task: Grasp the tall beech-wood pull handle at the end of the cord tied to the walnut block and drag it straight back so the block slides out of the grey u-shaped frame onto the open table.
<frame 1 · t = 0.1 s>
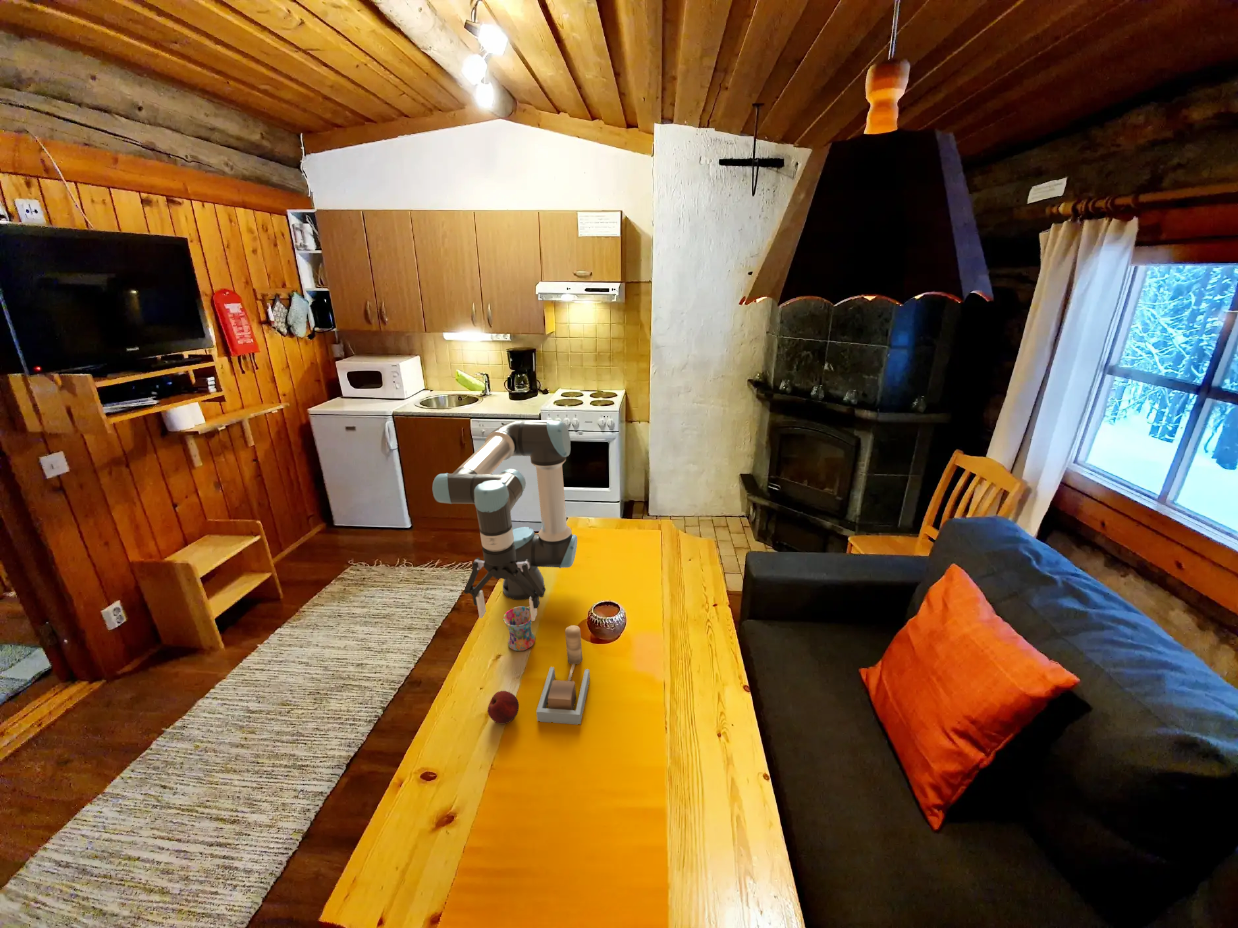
hand: (508, 616, 124), 28 cm above the table, fingers open, 13 cm apart
grey u-shaped frame: (565, 697, 134), on the table
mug: (524, 640, 155), on the table
tethered block: (563, 706, 131), on the table
apple: (505, 717, 128), on the table
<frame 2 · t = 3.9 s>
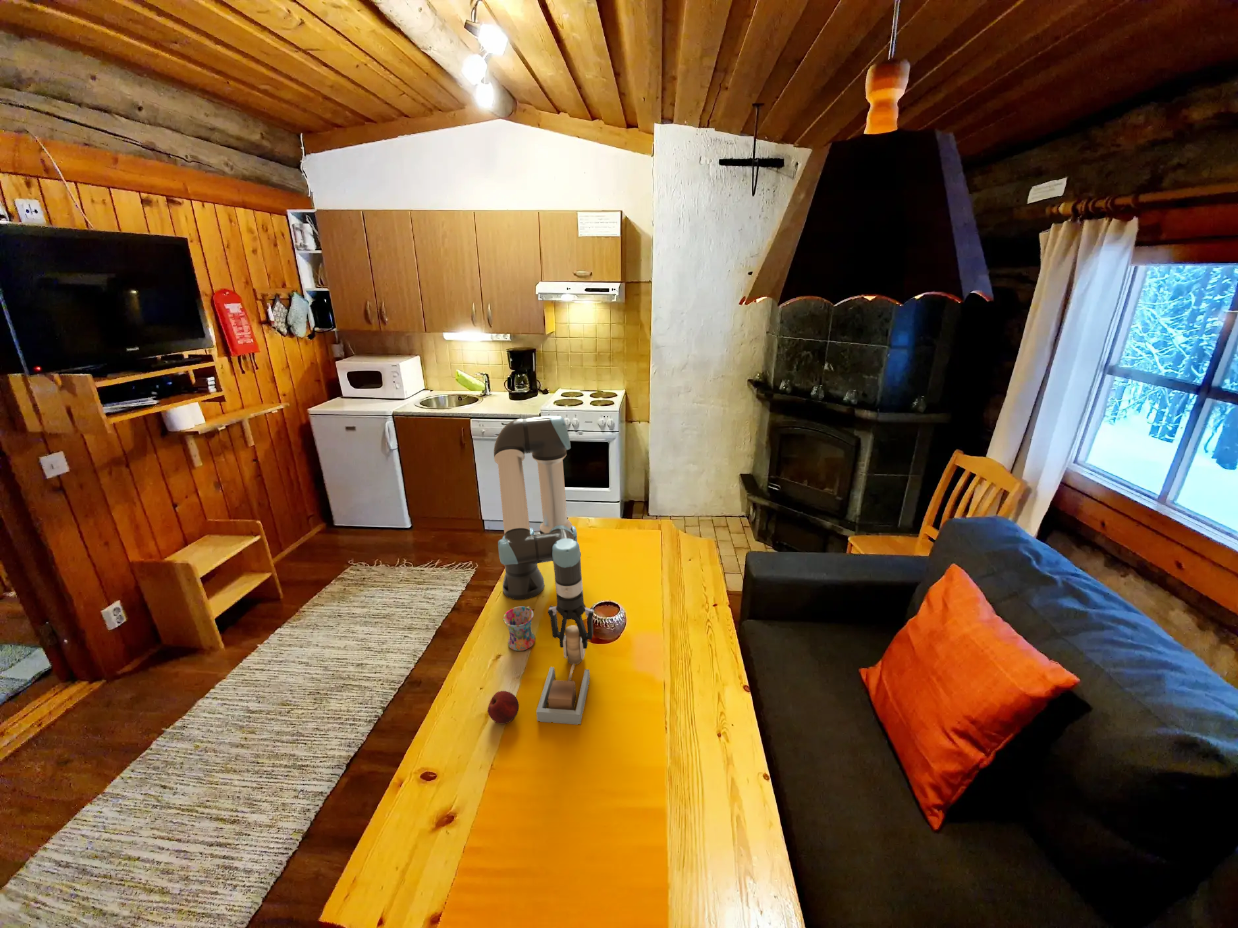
hand: (574, 654, 146), 2 cm above the table, fingers closed on tethered block, 4 cm apart
tethered block: (563, 706, 131), on the table, touching gripper
everything else where it was.
when the fingers open (2 cm above the table, at t = 8.3 s): tethered block drops 6 cm, on the table.
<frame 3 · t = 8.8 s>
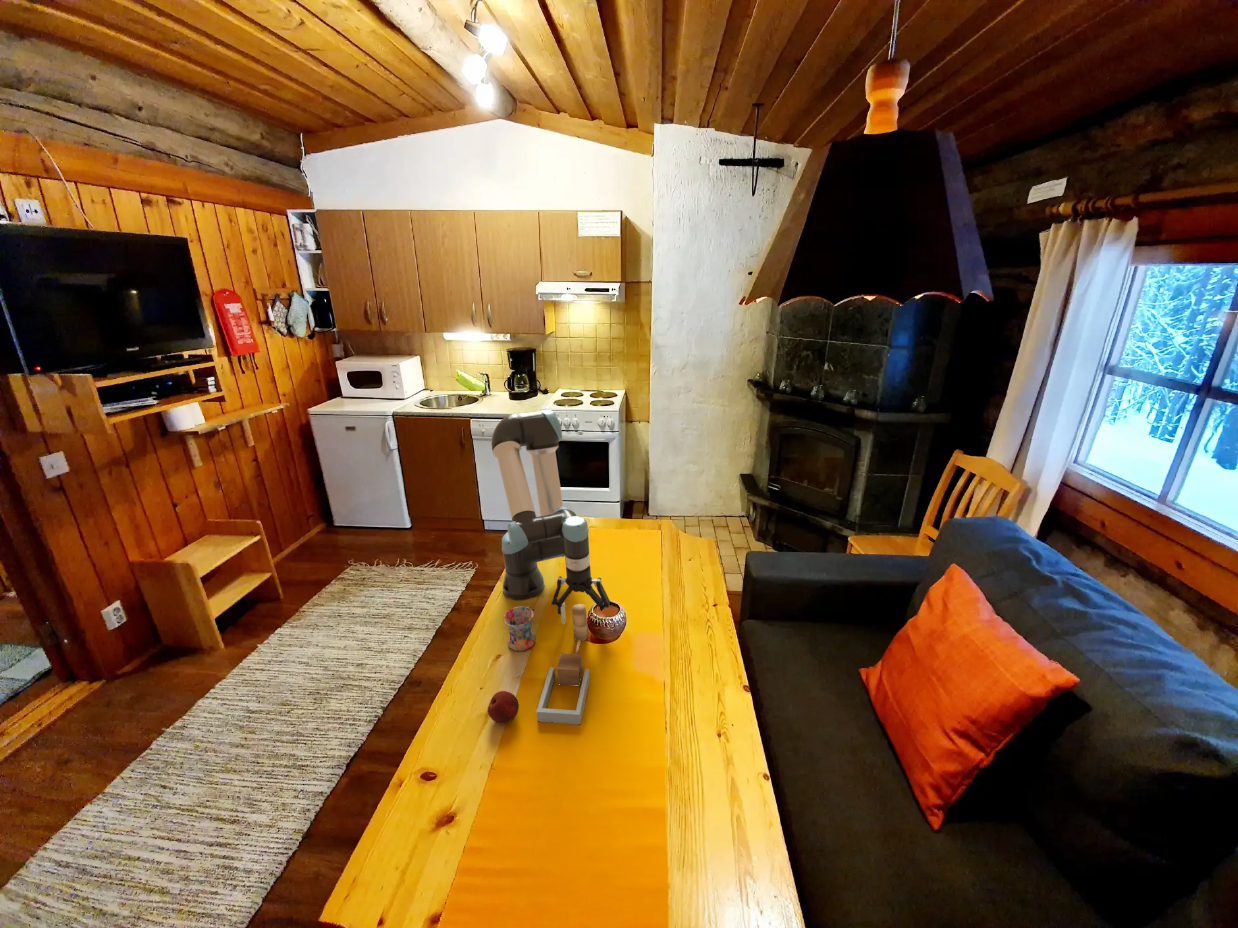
hand: (582, 622, 157), 3 cm above the table, fingers open, 11 cm apart
tethered block: (570, 677, 140), on the table
everything else where it was.
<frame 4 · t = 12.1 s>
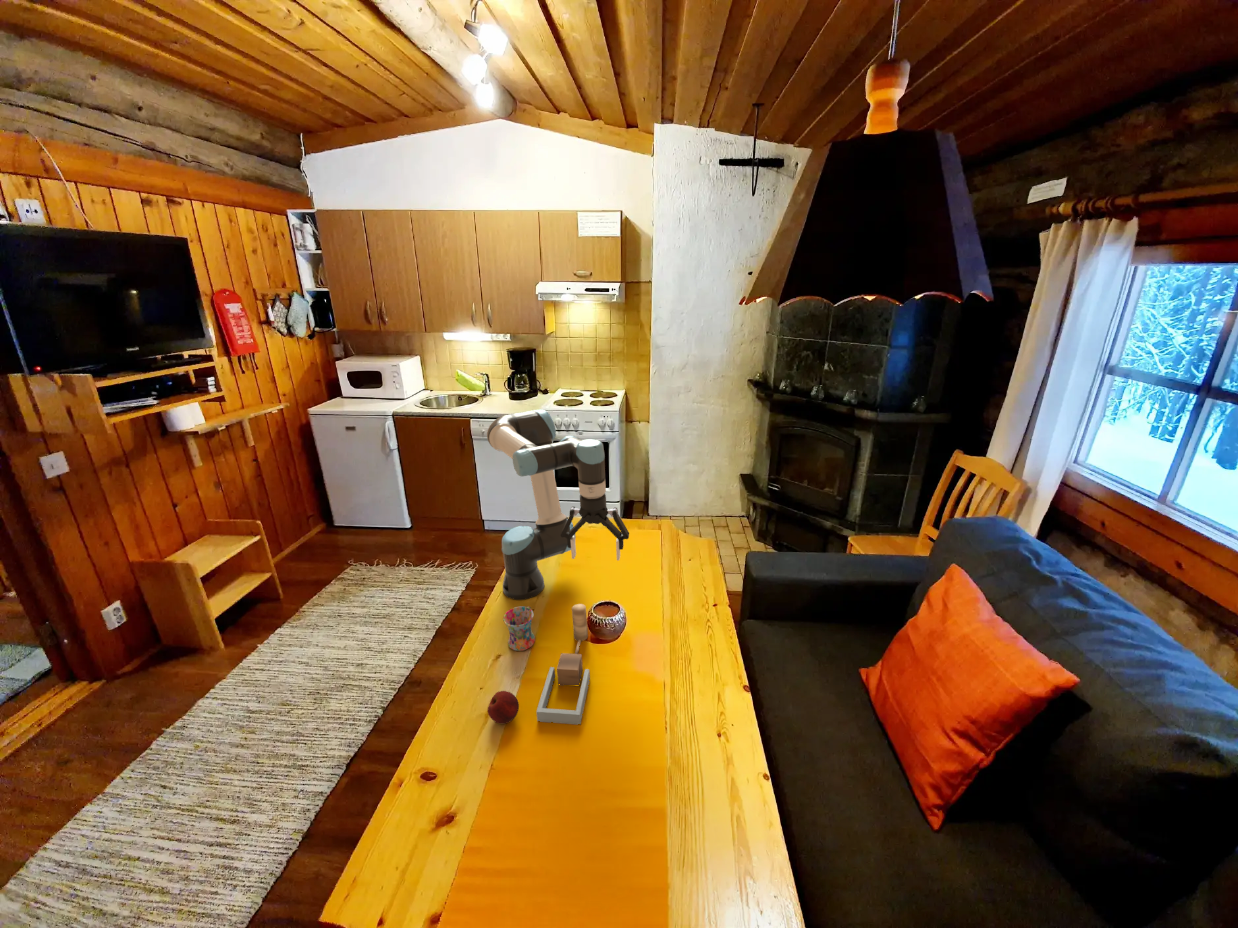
hand: (596, 557, 146), 29 cm above the table, fingers open, 13 cm apart
nothing on the table moved.
at the end: tethered block inside the target area (5.8 cm from its centre), on the table; the gripper is holding nothing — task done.
